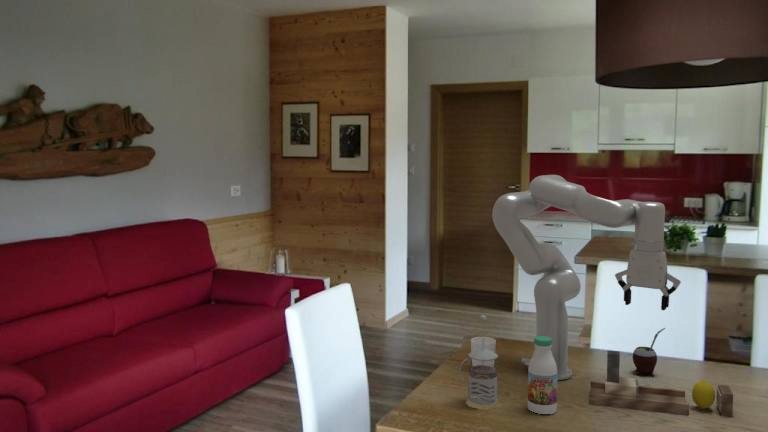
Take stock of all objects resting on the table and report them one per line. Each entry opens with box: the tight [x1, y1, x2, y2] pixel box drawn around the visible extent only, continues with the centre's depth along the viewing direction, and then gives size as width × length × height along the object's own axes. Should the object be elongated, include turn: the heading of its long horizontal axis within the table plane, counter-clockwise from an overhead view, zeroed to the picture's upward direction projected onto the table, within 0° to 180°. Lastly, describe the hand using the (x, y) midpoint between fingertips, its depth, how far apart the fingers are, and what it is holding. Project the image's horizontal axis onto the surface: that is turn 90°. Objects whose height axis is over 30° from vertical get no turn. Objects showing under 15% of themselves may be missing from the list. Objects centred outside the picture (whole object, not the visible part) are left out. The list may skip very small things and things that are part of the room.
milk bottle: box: [527, 336, 558, 415], centre depth 174 cm, size 8×8×20 cm
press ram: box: [604, 350, 640, 398], centre depth 180 cm, size 9×7×12 cm
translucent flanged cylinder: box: [470, 336, 497, 368], centre depth 207 cm, size 8×8×10 cm
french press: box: [458, 314, 499, 405], centre depth 179 cm, size 10×12×25 cm
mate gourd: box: [632, 327, 666, 378], centre depth 202 cm, size 8×8×15 cm
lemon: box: [691, 379, 716, 410], centre depth 174 cm, size 6×6×8 cm
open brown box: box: [715, 384, 734, 418], centre depth 172 cm, size 3×7×6 cm, turn 161°
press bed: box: [589, 380, 690, 416], centre depth 179 cm, size 25×11×3 cm, turn 71°
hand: (645, 306), depth 181 cm, fingers open, 9 cm apart
